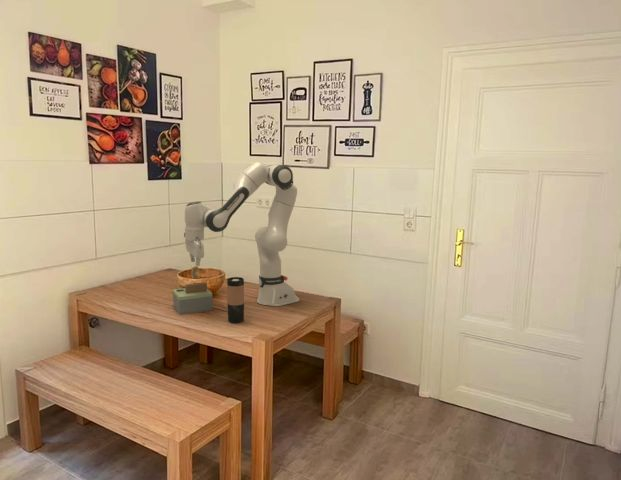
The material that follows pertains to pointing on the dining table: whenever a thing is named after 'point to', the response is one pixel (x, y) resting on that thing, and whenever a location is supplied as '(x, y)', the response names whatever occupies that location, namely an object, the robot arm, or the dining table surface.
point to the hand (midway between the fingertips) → (195, 263)
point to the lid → (192, 291)
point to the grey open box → (193, 304)
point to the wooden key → (195, 272)
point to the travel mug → (235, 299)
